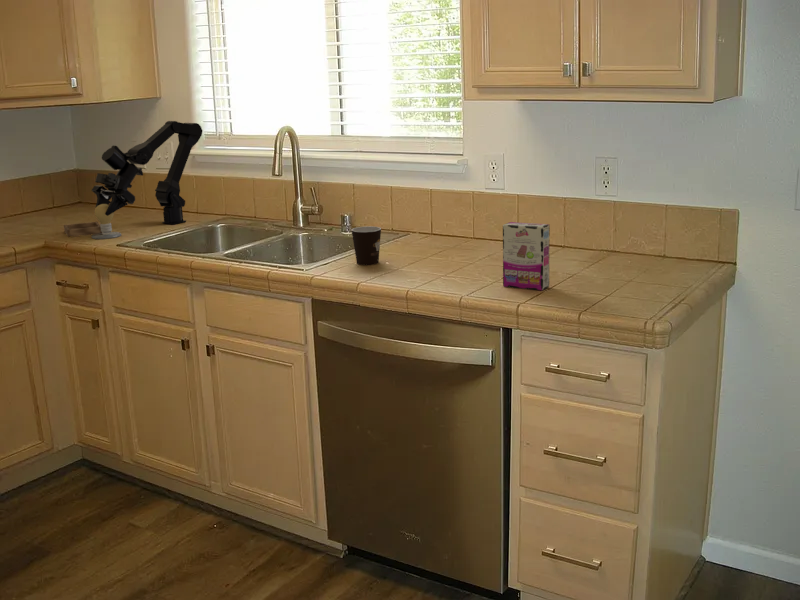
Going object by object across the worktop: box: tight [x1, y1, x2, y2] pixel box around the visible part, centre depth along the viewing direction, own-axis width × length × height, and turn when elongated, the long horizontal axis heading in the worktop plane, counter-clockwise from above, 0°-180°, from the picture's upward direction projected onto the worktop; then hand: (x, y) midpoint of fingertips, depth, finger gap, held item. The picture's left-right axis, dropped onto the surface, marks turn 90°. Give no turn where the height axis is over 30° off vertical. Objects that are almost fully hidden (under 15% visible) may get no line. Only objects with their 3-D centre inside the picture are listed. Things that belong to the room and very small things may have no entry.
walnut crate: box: [63, 221, 103, 237], centre depth 327 cm, size 12×12×2 cm
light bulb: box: [94, 204, 114, 233], centre depth 317 cm, size 6×6×10 cm
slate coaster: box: [91, 231, 122, 240], centre depth 319 cm, size 10×10×1 cm
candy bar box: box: [502, 221, 551, 291], centre depth 231 cm, size 11×5×16 cm, turn 59°
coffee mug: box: [351, 225, 382, 266], centre depth 265 cm, size 12×9×10 cm
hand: (100, 214), depth 316 cm, fingers closed on light bulb, 6 cm apart
